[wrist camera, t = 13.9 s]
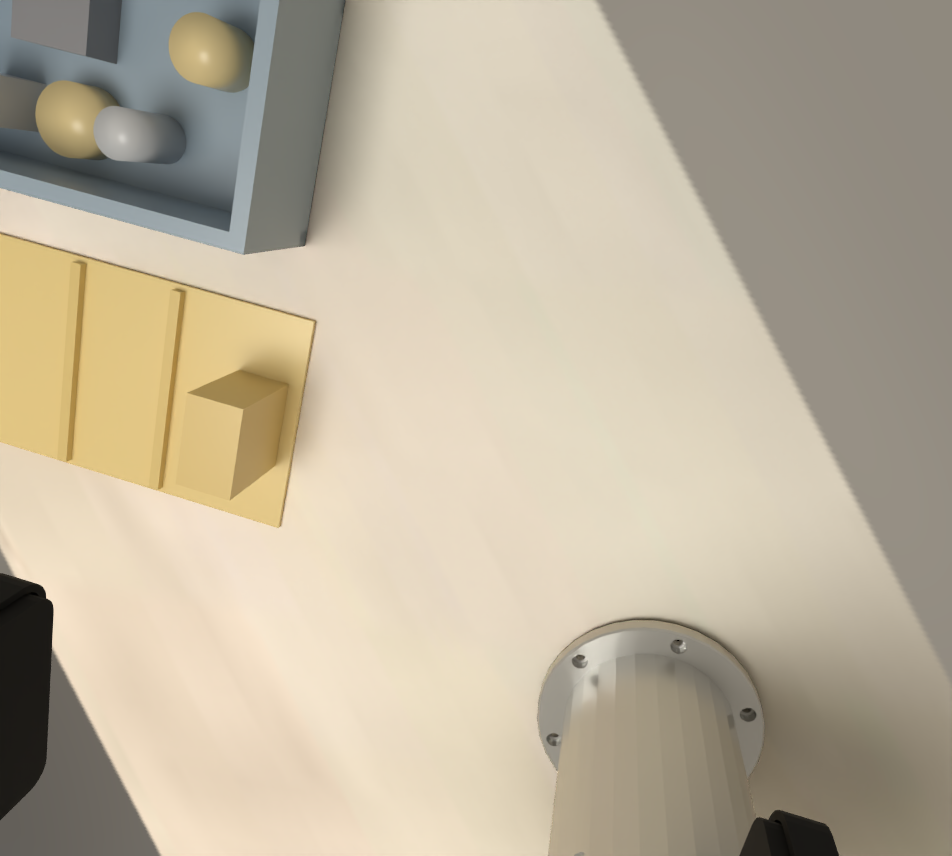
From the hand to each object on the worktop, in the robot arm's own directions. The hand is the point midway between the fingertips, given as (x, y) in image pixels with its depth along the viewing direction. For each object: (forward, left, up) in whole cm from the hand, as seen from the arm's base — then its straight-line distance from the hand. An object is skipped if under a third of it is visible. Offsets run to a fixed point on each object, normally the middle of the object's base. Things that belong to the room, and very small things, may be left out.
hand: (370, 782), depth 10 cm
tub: (+7, +24, -32) cm, 41 cm away
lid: (-9, +23, -33) cm, 41 cm away
